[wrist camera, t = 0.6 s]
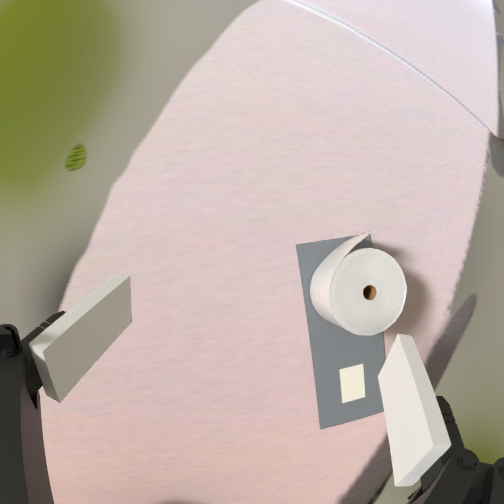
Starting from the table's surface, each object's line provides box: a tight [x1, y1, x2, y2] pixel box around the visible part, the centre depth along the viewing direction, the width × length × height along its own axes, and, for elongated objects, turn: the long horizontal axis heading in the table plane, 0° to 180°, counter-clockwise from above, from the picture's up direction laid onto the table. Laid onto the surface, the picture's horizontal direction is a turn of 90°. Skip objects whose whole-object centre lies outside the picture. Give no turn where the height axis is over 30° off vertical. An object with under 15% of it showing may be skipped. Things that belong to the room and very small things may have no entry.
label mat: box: [296, 234, 385, 429], centre depth 45 cm, size 30×12×1 cm, turn 9°
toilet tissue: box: [310, 227, 407, 336], centre depth 41 cm, size 11×12×10 cm
